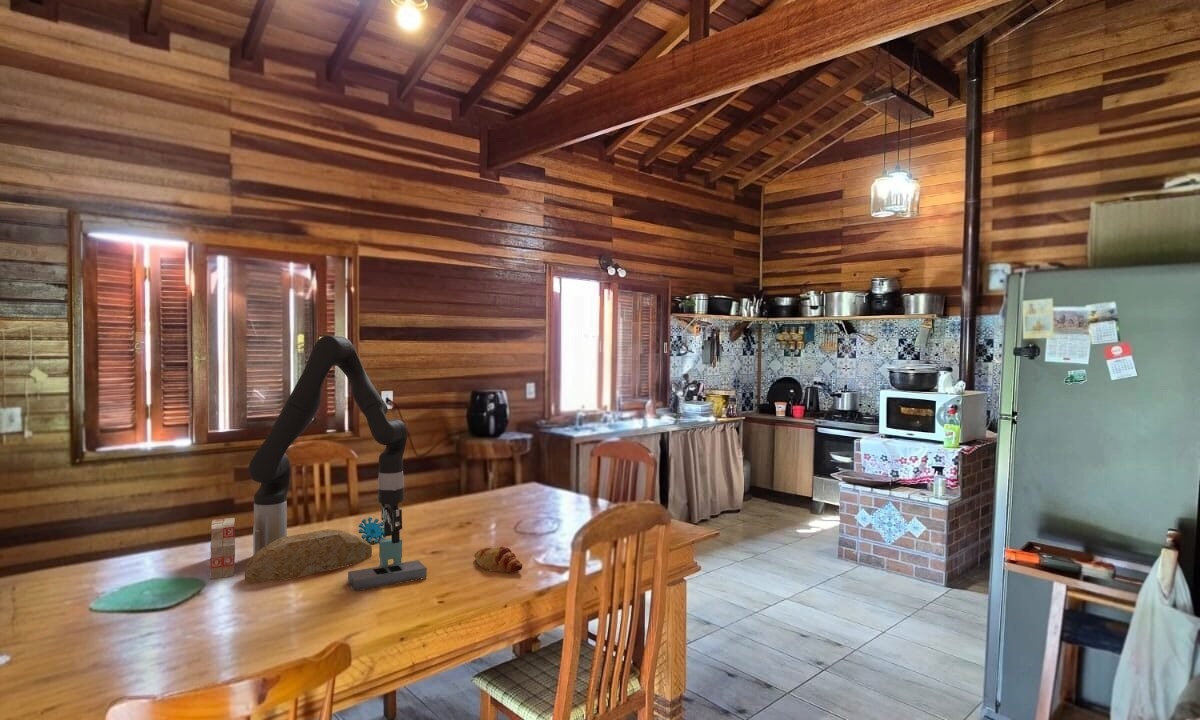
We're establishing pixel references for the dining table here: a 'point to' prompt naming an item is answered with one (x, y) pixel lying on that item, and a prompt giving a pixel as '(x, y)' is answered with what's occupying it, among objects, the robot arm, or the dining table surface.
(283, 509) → the robot arm
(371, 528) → the gear
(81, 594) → the dining table surface
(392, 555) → the teal block
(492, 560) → the croissant
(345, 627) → the dining table surface
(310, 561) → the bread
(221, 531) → the stack of blocks
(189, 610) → the dining table surface
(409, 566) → the rail
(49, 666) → the dining table surface
